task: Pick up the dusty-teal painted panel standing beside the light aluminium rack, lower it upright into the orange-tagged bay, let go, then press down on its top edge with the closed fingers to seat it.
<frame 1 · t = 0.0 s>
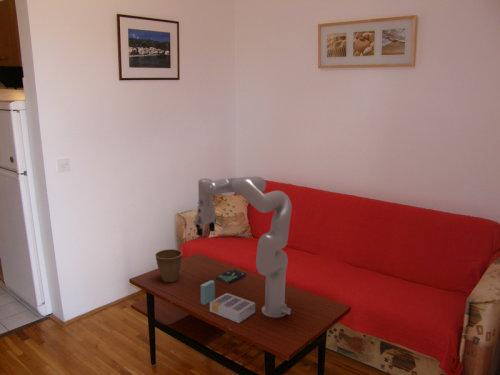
hand: (205, 233, 232), 31 cm above the table, tool pointing down, fingers open, 9 cm apart
rack: (232, 312, 211), on the table
disk drive: (231, 279, 251), on the table
plant pot: (169, 280, 247), on the table
panel: (207, 301, 222), on the table
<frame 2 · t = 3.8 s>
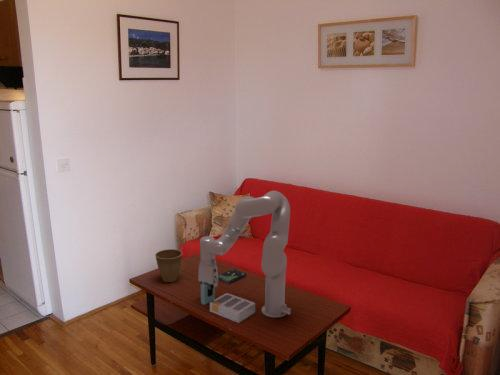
hand: (207, 294, 221), 4 cm above the table, tool pointing down, fingers closed on panel, 2 cm apart
panel: (208, 301, 222), on the table, touching gripper
everything else where it was.
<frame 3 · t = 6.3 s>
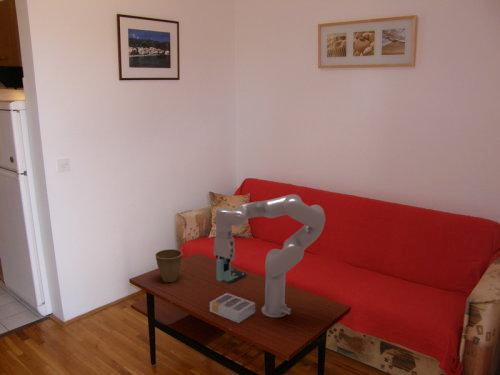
hand: (223, 269, 210), 21 cm above the table, tool pointing down, fingers closed on panel, 2 cm apart
panel: (223, 277, 211), point 16 cm above the table, touching gripper
everything else where it was.
when the fingers open (6 cm above the table, at t = 9.1 s): panel stays where it is, resting on rack.
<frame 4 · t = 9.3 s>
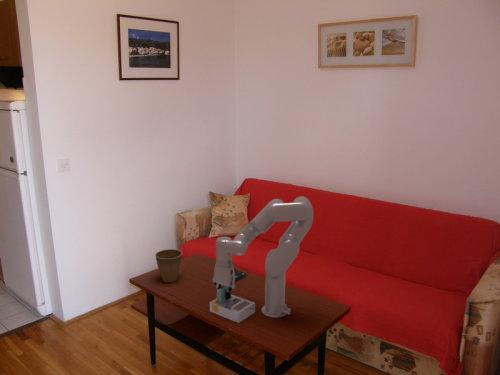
hand: (223, 296, 213), 6 cm above the table, tool pointing down, fingers open, 4 cm apart
panel: (223, 306, 214), point 1 cm above the table, touching rack
everything else where it was.
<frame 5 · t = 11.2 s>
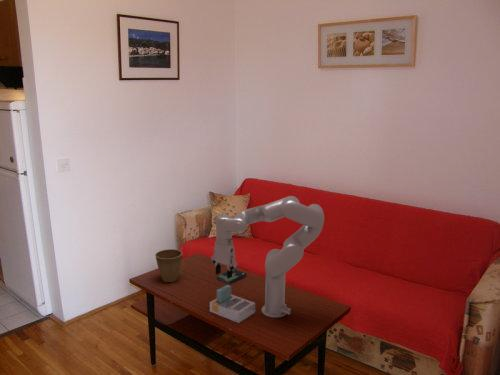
hand: (223, 275, 211), 18 cm above the table, tool pointing down, fingers open, 6 cm apart
nothing on the table moved.
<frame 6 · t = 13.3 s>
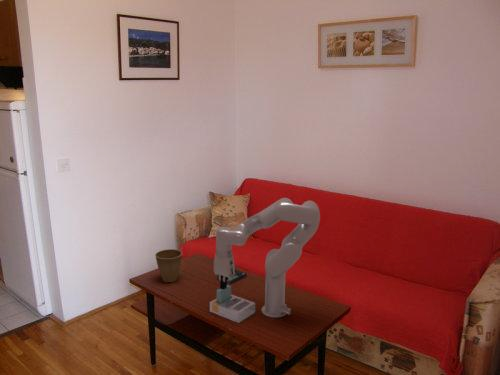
hand: (223, 287, 212), 11 cm above the table, tool pointing down, fingers closed
panel: (223, 306, 214), point 1 cm above the table, touching gripper, rack
everything else where it was.
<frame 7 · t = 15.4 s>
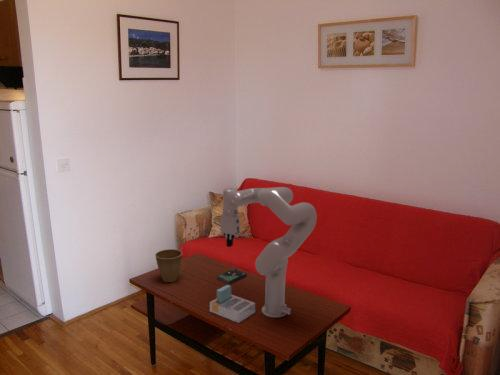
hand: (229, 246, 225), 27 cm above the table, tool pointing down, fingers closed
panel: (223, 306, 214), point 1 cm above the table, touching rack
everything else where it was.
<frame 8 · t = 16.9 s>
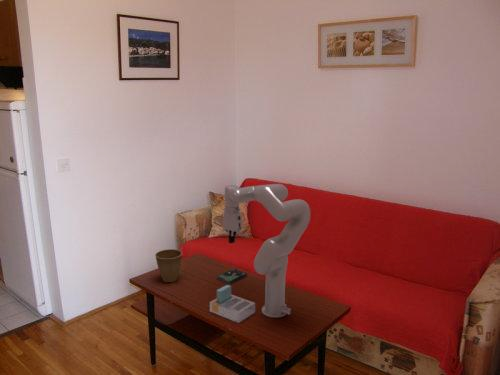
hand: (231, 242, 230), 27 cm above the table, tool pointing down, fingers closed
nothing on the table moved.
at the end: panel 0.1 cm from the target spot on the rack, point 1.0 cm above the rack's base; panel tilted 0°; the gripper is holding nothing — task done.
